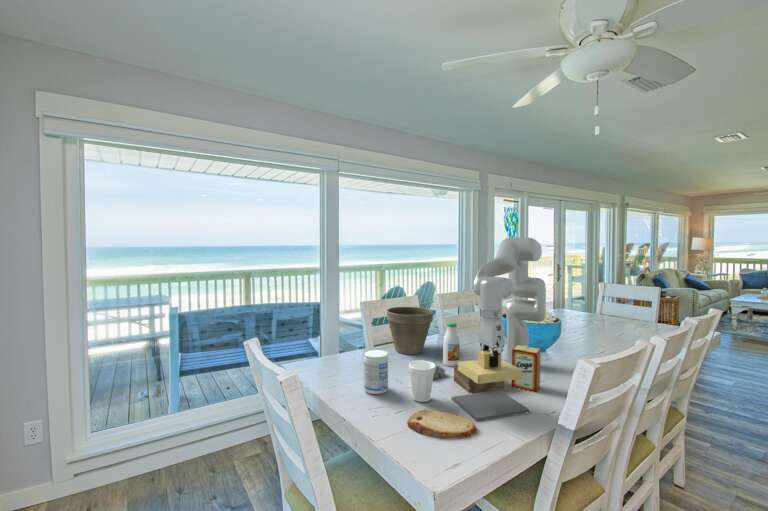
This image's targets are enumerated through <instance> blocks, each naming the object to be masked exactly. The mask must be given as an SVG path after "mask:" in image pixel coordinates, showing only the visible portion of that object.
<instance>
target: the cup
mask: <svg viewBox="0 0 768 511" xmlns="http://www.w3.org/2000/svg"><path fill="white" fill-rule="evenodd" d="M435 364H436V363H434V362H432V361H429V360H428V361H427V360H413V361H411V362H409V364H408V370H409V372H410V378H411V379H410V380H411V387H412V396H413V400H415V401H416V402H419V403H420V402H421V403H425V402H429V401H431V395H432V387H433V381H434V378H433V375H434V372H435V369H436V365H435Z"/></svg>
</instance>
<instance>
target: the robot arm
mask: <svg viewBox="0 0 768 511" xmlns="http://www.w3.org/2000/svg"><path fill="white" fill-rule="evenodd" d="M542 251H543V249H542V245H541V243H540V242H539V241H538V240H536V239H535V238H532V237H505V238H504V239H502V241H501V242H500V244H499V247H498V250H497V252H496V256H495V257H494V258H493V259H492V260H491V259H490V260H489V261H487V262H486V263H484V264H483V265H481V267H479V268H478V271H477V272H476V274H475V277H474V280H473V286H472V288H473V292H474V294H476V295H477V296H480V297H479V320H478V327H477V328H478V329H477V332H478V333H477V337H478V338H477V342H478V343H479V345H480V351H487V350H490V352H491V356H490V361H489V367H491V368H492V367H498V356H499V354H500V353H501V354H502V352H504V351H505V350H504V348H505V343H506V359H503V361H505V362H507V363H509V364H511V365H512V349H513V348H514V347H515V346H516V345H520V346H528V347H529V328H528V326H527V324H526V322H525V321H527V322H534V323H535V322H537V323H541V322H544V321H545V318H546V313H547V312H546V310H547V308H546V307H547V299H546V298H547V296H546V295H547V293H546V292H547V291H546V290H547V289H546V283H545V281H544V279H542V278H539V277H532V276H531V277H530V276H529V267H528V264H527V262H538V261H539V260H541V259H540V258H541V257H542V254H543V252H542ZM507 274H508V277H504V276H503V275H507ZM499 276H500V277H499ZM501 276H502V277H501ZM511 296H512V297H517V298H512V299H509V300H507V301H506V304H505V315H506V338H505V326H504V320H503V298H504V299H506V298H509V297H511ZM521 298H526V299H521ZM527 298H528V299H527ZM530 299H533V300H530ZM505 339H506V342H505ZM494 350H495V351H494Z"/></svg>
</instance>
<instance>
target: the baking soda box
mask: <svg viewBox="0 0 768 511" xmlns="http://www.w3.org/2000/svg"><path fill="white" fill-rule="evenodd" d="M541 352H542V350H541V348H536V347H530V346H529V345H528V346H520V345H516V346H515V347H514V348H513V349H512V365H513V366H515V367H517V368H519V369H521V370H522V379H516V380H511V388H514V387H515V388H514V389H518V388H520V389H519V390H523V389H524V390H523V391H527V390H529V391H528V392H532V391H533V392H532V393H537V392H538V391H539V389H540V387H541V384H540V383H541ZM537 390H538V391H537Z"/></svg>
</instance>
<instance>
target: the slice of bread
mask: <svg viewBox="0 0 768 511" xmlns="http://www.w3.org/2000/svg"><path fill="white" fill-rule="evenodd" d="M406 423H407V427H408V428H409V429H412V430H414V432H416V433H418V434H421V435H423V436H429V437H433V438H439V439H465V438H468V436H469V437H471V435H472V436H473V435H475V434H476V433H477V431H478V429H477V427H476V425H475V422H474V421H473V420H471V419H469V418H466V417H464V416H459V415H456V414H452V413H448V412H443V411H442V412H440V411H435V410H430V409H422V410H418V411H415V412H414V413H413V414H411V415H410V417H409V418H408V419H407V422H406ZM464 437H465V438H464Z"/></svg>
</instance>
